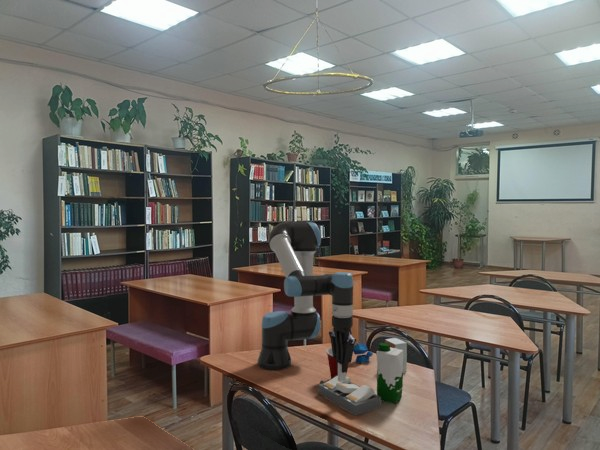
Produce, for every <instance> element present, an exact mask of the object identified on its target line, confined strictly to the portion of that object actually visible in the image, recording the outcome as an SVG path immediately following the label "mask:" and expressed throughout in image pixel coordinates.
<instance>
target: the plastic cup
mask: <svg viewBox="0 0 600 450" xmlns="http://www.w3.org/2000/svg"><path fill="white" fill-rule="evenodd" d="M325 351H326V355H327V360H328V367H329V372H330V380H331V379H333V378H334V377H336V376H337V375H338V370H337V361H336V359H334V358H333V353H332V347H330V348H327V349H326V350H325ZM348 370H349V363H347V372H346V375H347V373H348Z"/></svg>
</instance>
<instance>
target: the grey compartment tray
mask: <svg viewBox="0 0 600 450" xmlns="http://www.w3.org/2000/svg"><path fill="white" fill-rule="evenodd" d="M326 382H327V381H325V380H320V382H319V384H318V395H320V396H322V397H323V398H325V399H327V400H329V401H330V402H332V403H333V404H335V405H337V406H338V407H340V408H342V409H343V410H345V411H346V412H349V413H350V414H352V415H354V416H355V417H356V416H359V415H362V414H365V413H367V412H371V411H373V410H376V409H379V408H382V401H381V397H380V396H378V395H377V393H376V394H374V395H372V396H371V397H369V398H368V399H366V400H365V401H362V402H359V403H356V404H355V403H354V402H352V401H350V400H348V399H347V398H346V396H347V395H349V394H350V393H343V392H341V391H340V390H338V389H335V390H330V389H329V388H327V387H325V386H324V383H326ZM348 384H355V385H357V383H353V382H352V381H351V382H349V383H348ZM357 386H359V385H357ZM359 387H361V386H359Z"/></svg>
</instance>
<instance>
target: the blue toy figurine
mask: <svg viewBox="0 0 600 450" xmlns="http://www.w3.org/2000/svg"><path fill="white" fill-rule="evenodd" d="M353 354H354V355H356V358H355V361H356V363H359V364H364V363H367V362H369V360H370V357H372V356H373V354H374V352H372V351H369V349H368V347H367V345H366V344H365V343H364V344H363V343H360V342H358V343H357V342H356V343H355V344H354V350H353Z"/></svg>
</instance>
